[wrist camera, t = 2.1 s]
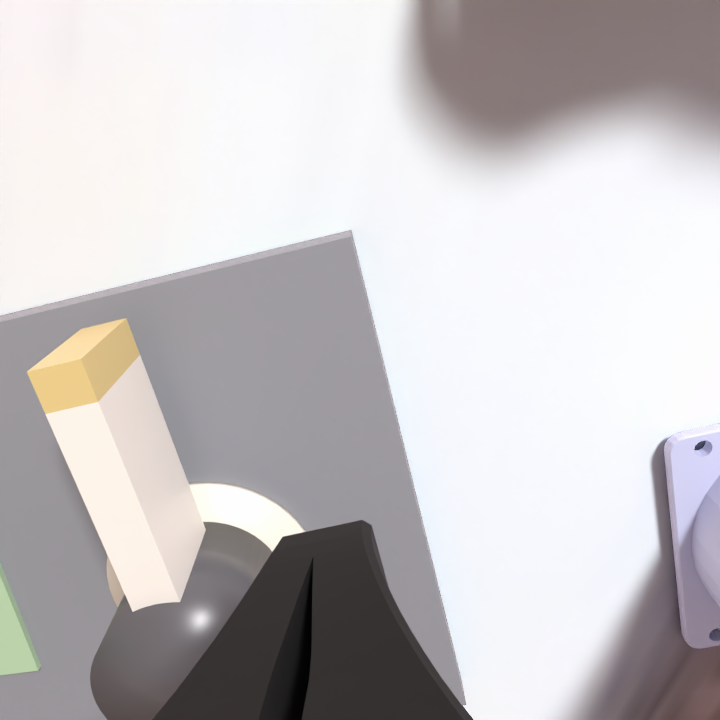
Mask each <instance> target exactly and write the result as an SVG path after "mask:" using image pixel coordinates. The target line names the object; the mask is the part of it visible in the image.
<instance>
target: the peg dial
mask: <svg viewBox="0 0 720 720" xmlns="http://www.w3.org/2000/svg"><path fill="white" fill-rule="evenodd" d="M27 374H28V376H29V378H30V380H31V383H32V385H33V387H34V390H35V392H36V394H37V396H38V399H39V401H40V403H41V405H42V408H43V410H44V412H45V414H46V417H47V419H48V421H49V424H50V426H51V428H52V430H53V433H54V435H55V437H56V439H57V442H58V444H59V446H60V448H61V451H62V453H63V455H64V458H65V460H66V462H67V464H68V467H69V469H70V471H71V473H72V476H73V478H74V480H75V482H76V485H77V487H78V489H79V492H80V494H81V496H82V498H83V501H84V503H85V505H86V507H87V510H88V512H89V514H90V516H91V519H92V521H93V523H94V526H95V528H96V530H97V532H98V535H99V537H100V539H101V541H102V544H103V546H104V548H105V550H106V553H107V555H108V557H109V560H110V562H111V564H112V566H113V569H114V571H115V573H116V575H117V578H118V580H119V582H120V584H121V587H122V589H123V591H124V596H123V598H122V600H121V602H120V604H119V606H118V608H117V611H116V613H115V615H114V617H113V619H112V621H111V623H110V625H109V627H108V629H107V631H106V634H105V636H104V638H103V640H102V642H101V644H100V646H99V648H98V650H97V652H96V654H95V657H94V659H93V662H92V666H91V672H90V685H91V690H92V694H93V697H94V699H95V702H96V704H97V706H98V707H99V709H100V711H101V712H102V713H103V715H104V716H105V717H106V719H107V720H152V719H153V718H154V717H155V716H156V714H157V713H158V712H159V711H160V710H161V708H162V707H163V706H164V705H165V704H166V702H167V701H168V700H169V699H170V697H171V696H172V695H173V694H174V693H175V691H176V690H177V689H178V687H179V686H180V685H181V683H182V682H183V681H184V679H185V678H186V677H187V675H188V674H189V673H190V671H191V670H192V669H193V667H194V666H195V665H196V663H197V662H198V661H199V659H200V658H201V657H202V655H203V654H204V653H205V651H206V650H207V649H208V647H209V646H210V645H211V643H212V642H213V641H214V639H215V638H216V636H217V635H218V633H219V632H220V631H221V629H222V628H223V626H224V625H225V623H226V622H227V620H228V619H229V617H230V616H231V614H232V613H233V611H234V610H235V608H236V607H237V606H238V604H239V603H240V601H241V600H242V598H243V596H244V595H245V593H246V592H247V590H248V589H249V587H250V586H251V584H252V583H253V581H254V579H255V578H256V576H257V575H258V573H259V572H260V570H261V569H262V567H263V565H264V564H265V562H266V561H267V559H268V558H269V556H270V555H271V553H272V551H271V550H270V548H269V547H268V546H267V545H266V544H264V543H263V542H262V541H261V540H260V539H258V538H257V537H256V536H254V535H252V534H251V533H249V532H247V531H245V530H243V529H240V528H238V527H235V526H232V525H228V524H224V523H218V522H203V521H202V518H201V516H200V513H199V510H198V508H197V505H196V502H195V500H194V497H193V494H192V492H191V489H190V486H189V484H188V481H187V478H186V476H185V473H184V470H183V468H182V465H181V462H180V460H179V457H178V454H177V452H176V449H175V446H174V444H173V441H172V438H171V436H170V433H169V430H168V428H167V425H166V422H165V420H164V417H163V414H162V412H161V409H160V406H159V404H158V401H157V398H156V396H155V393H154V390H153V388H152V385H151V382H150V380H149V377H148V374H147V372H146V369H145V366H144V364H143V361H142V358H141V356H140V353H139V350H138V348H137V345H136V342H135V340H134V337H133V334H132V332H131V329H130V327H129V324H128V321H127V319H126V318H125V319H120V320H116V321H112V322H108V323H104V324H100V325H95V326H91V327H87V328H83V329H80V330H79V331H78V332H77V333H75V334H74V335H73V336H72V337H70V338H69V339H68V340H66V341H65V342H64V343H63V344H61V345H60V346H59V347H58V348H56V349H55V350H54V351H52V352H51V353H50V354H49V355H47V356H46V357H45V358H44V359H42V360H41V361H40V362H39V363H37V364H36V365H35V366H33V367H32V368H31V369H30V370H28V371H27Z"/></svg>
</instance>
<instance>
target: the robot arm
mask: <svg viewBox="0 0 720 720" xmlns="http://www.w3.org/2000/svg"><path fill="white" fill-rule="evenodd" d="M701 441H706V443H705V445H704V447H703V448H702V449H699V450H694V449H695V446H696V445H697V444H698V443H699V442H701ZM664 457H665V467H666V477H667V488H668V498H669V508H670V519H671V529H672V539H673V550H674V560H675V570H676V580H677V591H678V601H679V611H680V622H681V632H682V635H683V638H684V639H685V641H686V643H687V644H688V645H689V646H690V647H692V648H696V649H701V648H708V647H713V646H718V645H720V424H715V425H710V426H706V427H701V428H696V429H692V430H687V431H682V432H678V433H676V434H673V435H672V436H671V437H670V438H668V440H667V441H666V443H665V446H664ZM717 628H718V629H717ZM714 629H717V630H716V631H714V632H711V631H712V630H714ZM152 720H473V719H472V717H471V716H470V715H469V713H468V712H467V711H466V710H465V708H464V707H463V706H462V705H461V703H460V702H459V701H458V699H457V698H456V697H455V695H454V694H453V693H452V691H451V690H450V688H449V687H448V686H447V684H446V683H445V682H444V680H443V679H442V677H441V676H440V675H439V673H438V672H437V670H436V669H435V667H434V666H433V664H432V663H431V661H430V660H429V658H428V657H427V655H426V654H425V652H424V651H423V649H422V647H421V646H420V644H419V642H418V641H417V639H416V638H415V636H414V634H413V633H412V631H411V629H410V628H409V626H408V624H407V622H406V621H405V619H404V617H403V615H402V614H401V612H400V610H399V608H398V606H397V604H396V602H395V600H394V598H393V596H392V594H391V592H390V590H389V586H388V583H387V579H386V576H385V572H384V568H383V565H382V561H381V557H380V554H379V550H378V547H377V543H376V539H375V536H374V532H373V528H372V525H370V524H369V523H367V522H365V521H364V520H359V521H354V522H350V523H345V524H340V525H336V526H331V527H326V528H321V529H317V530H312V531H307V532H303V533H298V534H293V535H288V536H284V537H282V538H281V540H280V541H279V543H278V544H277V546H276V547H275V549H274V550H273V552H272V553H271V555H270V556H269V558H268V559H267V561H266V562H265V564H264V565H263V567H262V569H261V570H260V572H259V573H258V575H257V576H256V578H255V579H254V581H253V583H252V584H251V586H250V587H249V589H248V590H247V592H246V593H245V595H244V596H243V598H242V600H241V601H240V603H239V604H238V606H237V607H236V608H235V610H234V611H233V613H232V614H231V616H230V617H229V619H228V620H227V622H226V623H225V625H224V626H223V628H222V629H221V631H220V632H219V633H218V635H217V636H216V638H215V639H214V641H213V642H212V643H211V645H210V646H209V647H208V649H207V650H206V651H205V653H204V654H203V655H202V657H201V658H200V659H199V661H198V662H197V663H196V665H195V666H194V667H193V669H192V670H191V671H190V673H189V674H188V675H187V677H186V678H185V679H184V681H183V682H182V683H181V685H180V686H179V687H178V689H177V690H176V691H175V693H174V694H173V695H172V696H171V697H170V699H169V700H168V701H167V702H166V704H165V705H164V706H163V707H162V708H161V710H160V711H159V712H158V713H157V714H156V716H155V717H154V718H153V719H152Z"/></svg>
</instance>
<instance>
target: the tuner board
mask: <svg viewBox="0 0 720 720" xmlns="http://www.w3.org/2000/svg"><path fill="white" fill-rule="evenodd" d="M125 318H126V319H127V321H128V324H129V327H130V329H131V332H132V334H133V337H134V340H135V342H136V345H137V348H138V350H139V353H140V356H141V358H142V361H143V364H144V366H145V369H146V372H147V374H148V377H149V380H150V382H151V385H152V388H153V390H154V393H155V396H156V398H157V401H158V404H159V406H160V409H161V412H162V414H163V417H164V420H165V422H166V425H167V428H168V430H169V433H170V436H171V438H172V441H173V444H174V446H175V449H176V452H177V454H178V457H179V460H180V462H181V465H182V468H183V470H184V473H185V476H186V478H187V481H188V484H189V486H190V489H191V492H192V494H193V497H194V500H195V502H196V505H197V508H198V510H199V513H200V516H201V518H202V521H203V522H218V523H224V524H228V525H232V526H235V527H238V528H240V529H243V530H245V531H247V532H249V533H251V534H252V535H254V536H256V537H257V538H258V539H260V540H261V541H262V542H263V543H264V544H266V545H267V546H268V547H269V548H270V550H271V551H272V552H273V550H274V549H275V547H276V546H277V544H278V543H279V541H280V540H281V538H282V537H284V536H288V535H293V534H298V533H303V532H307V531H312V530H317V529H321V528H326V527H331V526H336V525H340V524H345V523H350V522H354V521H359V520H364V521H365V522H367V523H369V524H370V525H372V528H373V532H374V536H375V539H376V543H377V547H378V550H379V554H380V557H381V561H382V565H383V568H384V572H385V576H386V579H387V583H388V586H389V590H390V592H391V594H392V596H393V598H394V600H395V602H396V604H397V606H398V608H399V610H400V612H401V614H402V615H403V617H404V619H405V621H406V622H407V624H408V626H409V628H410V629H411V631H412V633H413V634H414V636H415V638H416V639H417V641H418V642H419V644H420V646H421V647H422V649H423V651H424V652H425V654H426V655H427V657H428V658H429V660H430V661H431V663H432V664H433V666H434V667H435V669H436V670H437V672H438V673H439V675H440V676H441V677H442V679H443V680H444V682H445V683H446V684H447V686H448V687H449V688H450V690H451V691H452V693H453V694H454V695H455V697H456V698H457V699H458V701H459V702H460V703H461V705H466V702H465V696H464V691H463V686H462V681H461V676H460V672H459V668H458V664H457V660H456V656H455V652H454V648H453V644H452V640H451V636H450V632H449V627H448V623H447V619H446V615H445V611H444V607H443V603H442V599H441V595H440V591H439V587H438V583H437V578H436V574H435V570H434V566H433V562H432V558H431V554H430V550H429V546H428V542H427V538H426V534H425V529H424V525H423V521H422V517H421V513H420V509H419V505H418V501H417V497H416V493H415V489H414V485H413V480H412V476H411V472H410V468H409V464H408V460H407V456H406V452H405V448H404V444H403V440H402V436H401V431H400V427H399V423H398V419H397V415H396V411H395V407H394V403H393V399H392V395H391V391H390V387H389V382H388V378H387V374H386V370H385V366H384V362H383V358H382V354H381V350H380V346H379V342H378V338H377V333H376V329H375V325H374V321H373V317H372V313H371V309H370V305H369V301H368V297H367V293H366V289H365V284H364V280H363V276H362V272H361V268H360V264H359V260H358V256H357V252H356V248H355V244H354V240H353V235H352V231H351V230H350V231H346V232H341V233H337V234H333V235H329V236H325V237H321V238H317V239H313V240H309V241H305V242H301V243H296V244H292V245H288V246H284V247H280V248H276V249H272V250H268V251H264V252H260V253H256V254H252V255H247V256H243V257H239V258H235V259H231V260H227V261H223V262H219V263H215V264H211V265H207V266H202V267H198V268H194V269H190V270H186V271H182V272H178V273H174V274H170V275H166V276H162V277H157V278H153V279H149V280H145V281H141V282H137V283H133V284H129V285H125V286H121V287H117V288H112V289H108V290H104V291H100V292H96V293H92V294H88V295H84V296H80V297H76V298H72V299H67V300H63V301H59V302H55V303H51V304H47V305H43V306H39V307H35V308H31V309H27V310H22V311H18V312H14V313H10V314H6V315H2V316H0V720H107V719H106V717H105V716H104V715H103V713H102V712H101V711H100V709H99V707H98V706H97V704H96V702H95V699H94V697H93V694H92V690H91V685H90V672H91V666H92V662H93V659H94V657H95V654H96V652H97V650H98V648H99V646H100V644H101V642H102V640H103V638H104V636H105V634H106V631H107V629H108V627H109V625H110V623H111V621H112V619H113V617H114V615H115V613H116V611H117V608H118V606H119V604H120V602H121V600H122V598H123V596H124V591H123V589H122V587H121V584H120V582H119V580H118V578H117V575H116V573H115V571H114V569H113V566H112V564H111V562H110V560H109V557H108V555H107V553H106V550H105V548H104V546H103V544H102V541H101V539H100V537H99V535H98V532H97V530H96V528H95V526H94V523H93V521H92V519H91V516H90V514H89V512H88V510H87V507H86V505H85V503H84V501H83V498H82V496H81V494H80V492H79V489H78V487H77V485H76V482H75V480H74V478H73V476H72V473H71V471H70V469H69V467H68V464H67V462H66V460H65V458H64V455H63V453H62V451H61V448H60V446H59V444H58V442H57V439H56V437H55V435H54V433H53V430H52V428H51V426H50V424H49V421H48V419H47V417H46V414H45V412H44V410H43V408H42V405H41V403H40V401H39V399H38V396H37V394H36V392H35V390H34V387H33V385H32V383H31V380H30V378H29V376H28V374H27V371H28V370H30V369H31V368H32V367H33V366H35V365H36V364H37V363H39V362H40V361H41V360H42V359H44V358H45V357H46V356H47V355H49V354H50V353H51V352H52V351H54V350H55V349H56V348H58V347H59V346H60V345H61V344H63V343H64V342H65V341H66V340H68V339H69V338H70V337H72V336H73V335H74V334H75V333H77V332H78V331H79V330H80V329H83V328H87V327H91V326H95V325H100V324H104V323H108V322H112V321H116V320H120V319H125Z"/></svg>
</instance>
